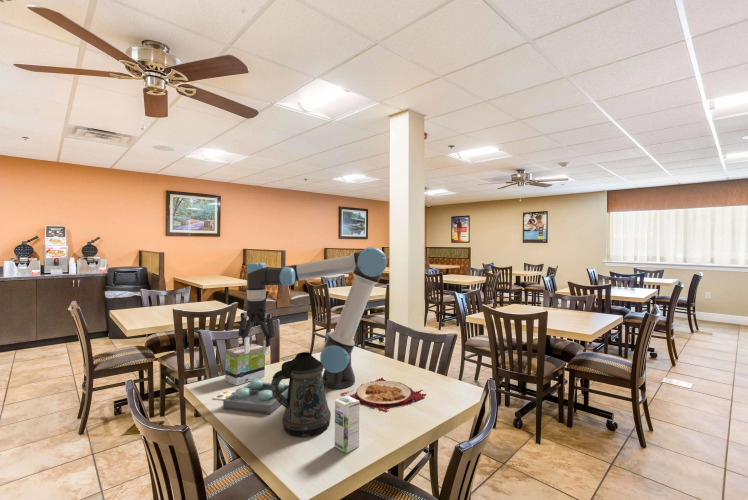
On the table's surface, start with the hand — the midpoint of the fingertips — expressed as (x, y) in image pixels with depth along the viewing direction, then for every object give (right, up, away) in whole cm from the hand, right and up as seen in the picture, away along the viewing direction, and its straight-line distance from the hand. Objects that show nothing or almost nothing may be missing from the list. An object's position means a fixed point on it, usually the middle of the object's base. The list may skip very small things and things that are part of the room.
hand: (256, 353), depth 151 cm
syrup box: (+41, -18, -40) cm, 60 cm away
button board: (+4, -17, -6) cm, 19 cm away
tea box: (-11, -18, +18) cm, 28 cm away
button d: (-2, -14, -10) cm, 17 cm away
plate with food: (+53, -18, -1) cm, 56 cm away
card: (-12, -17, -1) cm, 21 cm away
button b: (+7, -14, -12) cm, 20 cm away
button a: (+10, -14, -2) cm, 17 cm away
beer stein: (+25, -18, -28) cm, 41 cm away
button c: (0, -14, 0) cm, 14 cm away
